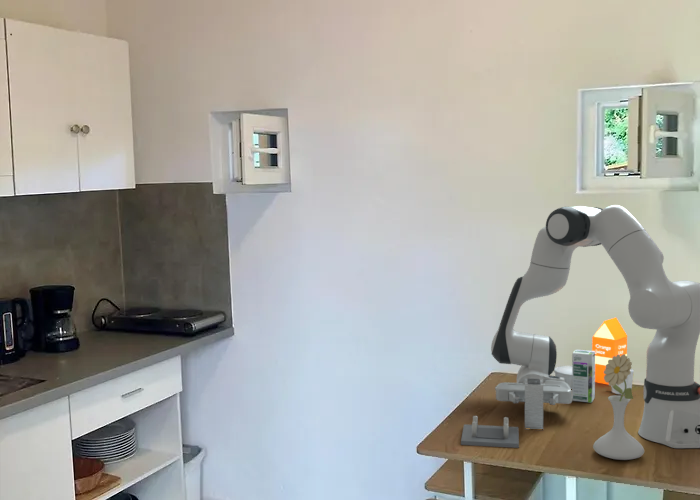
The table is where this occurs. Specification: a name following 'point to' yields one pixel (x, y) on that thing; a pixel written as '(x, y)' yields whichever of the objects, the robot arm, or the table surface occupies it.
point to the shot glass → (622, 385)
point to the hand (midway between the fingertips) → (534, 401)
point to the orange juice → (608, 346)
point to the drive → (534, 403)
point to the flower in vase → (618, 415)
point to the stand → (490, 435)
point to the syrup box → (583, 376)
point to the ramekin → (564, 374)
